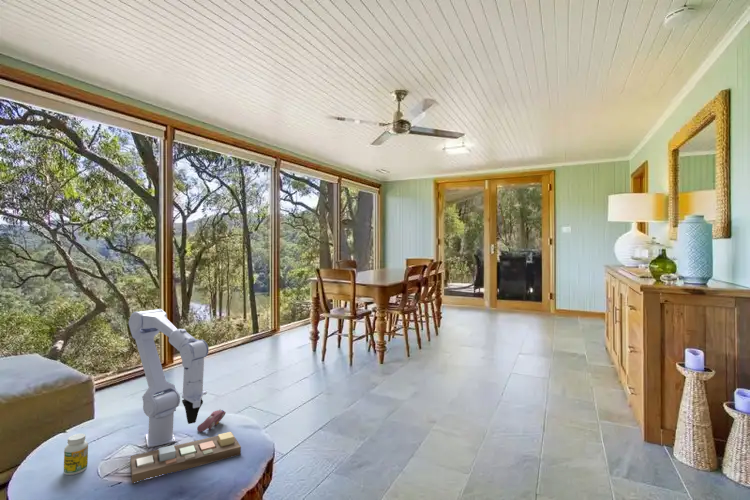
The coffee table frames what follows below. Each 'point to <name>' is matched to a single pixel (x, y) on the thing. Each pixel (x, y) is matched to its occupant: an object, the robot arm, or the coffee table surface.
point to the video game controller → (211, 420)
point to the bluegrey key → (166, 453)
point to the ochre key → (225, 439)
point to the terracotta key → (206, 446)
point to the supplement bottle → (75, 454)
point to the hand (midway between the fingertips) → (191, 422)
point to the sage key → (187, 450)
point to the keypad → (183, 459)
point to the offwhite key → (144, 461)
